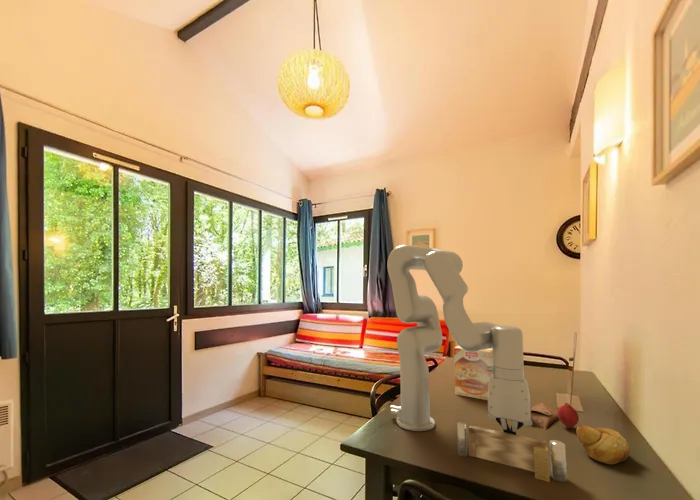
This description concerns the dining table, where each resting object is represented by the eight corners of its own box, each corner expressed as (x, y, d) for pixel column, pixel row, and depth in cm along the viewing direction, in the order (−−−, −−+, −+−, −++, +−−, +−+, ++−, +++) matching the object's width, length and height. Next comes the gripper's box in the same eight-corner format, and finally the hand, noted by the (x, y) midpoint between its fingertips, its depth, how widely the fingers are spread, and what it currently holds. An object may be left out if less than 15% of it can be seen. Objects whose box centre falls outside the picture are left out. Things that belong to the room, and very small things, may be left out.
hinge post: (457, 455, 91) (456, 424, 92) (459, 451, 93) (458, 421, 94) (466, 457, 90) (465, 426, 91) (468, 453, 92) (467, 423, 93)
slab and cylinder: (535, 478, 80) (533, 443, 81) (535, 469, 84) (533, 435, 85) (567, 486, 77) (565, 449, 78) (566, 476, 81) (564, 442, 82)
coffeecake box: (454, 394, 141) (453, 347, 143) (459, 390, 147) (458, 344, 149) (492, 401, 133) (490, 351, 135) (496, 396, 139) (494, 348, 141)
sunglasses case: (547, 430, 106) (534, 408, 110) (527, 436, 110) (515, 415, 114) (564, 415, 119) (552, 396, 122) (546, 421, 123) (535, 402, 126)
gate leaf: (469, 455, 90) (468, 427, 91) (470, 452, 91) (469, 425, 92) (547, 475, 81) (545, 443, 81) (547, 471, 82) (545, 440, 83)
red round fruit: (559, 422, 113) (558, 397, 114) (580, 427, 109) (578, 401, 110) (557, 428, 108) (555, 402, 109) (578, 433, 105) (576, 406, 105)
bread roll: (604, 445, 97) (602, 416, 98) (643, 461, 88) (641, 429, 89) (573, 453, 92) (571, 423, 93) (612, 471, 83) (609, 437, 84)
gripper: (476, 372, 90) (477, 443, 89) (540, 381, 83) (543, 458, 81) (480, 366, 97) (481, 432, 95) (540, 373, 89) (542, 445, 88)
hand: (510, 444), depth 88 cm, fingers closed
